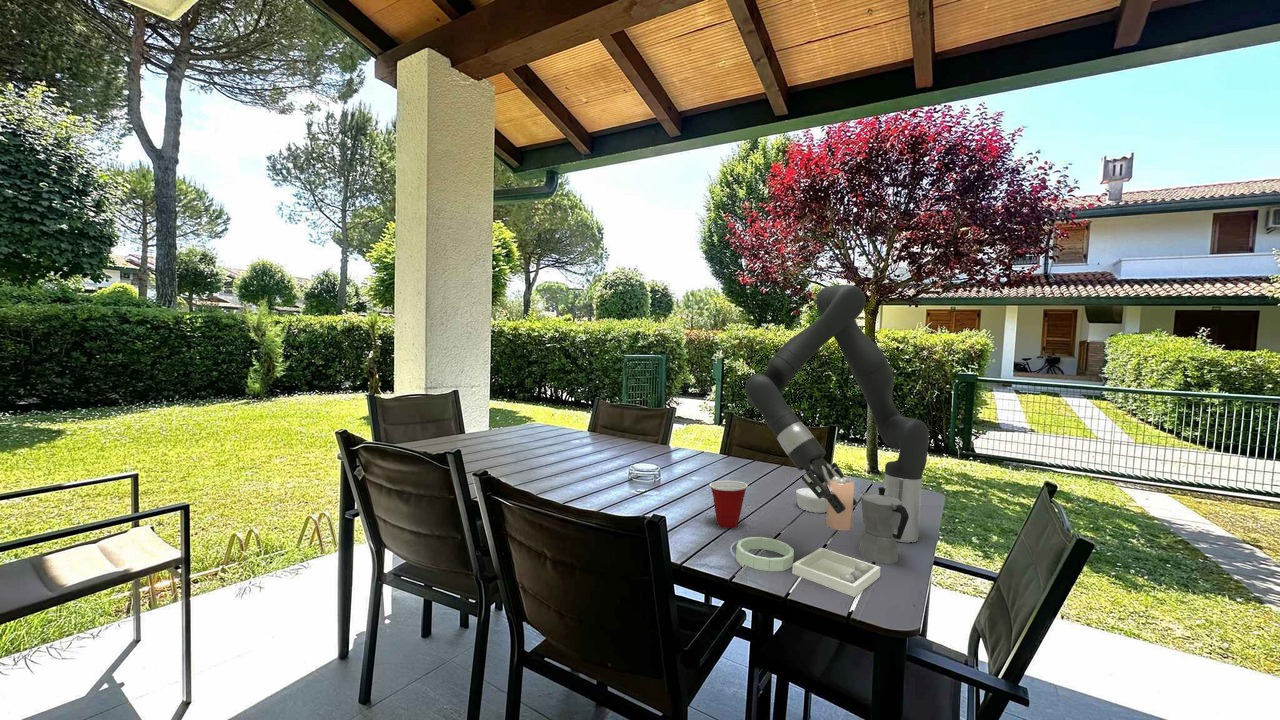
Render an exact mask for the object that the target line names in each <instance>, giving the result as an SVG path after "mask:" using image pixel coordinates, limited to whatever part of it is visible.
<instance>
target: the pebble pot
mask: <svg viewBox="0 0 1280 720" xmlns="http://www.w3.org/2000/svg"><path fill="white" fill-rule="evenodd" d="M830 481H831V487H832V489H833V491H834V494H836V495H837V497H838V498H839V499H840V501H841V502H842V503H843V505H844V506H845V508H846V509H845V510H844V511H842V512H841V513H839V514H838V513H836V511H835V510H834V509H833V507H832V506H831V505H830V503H829V502H828V501H827V512H826V515H825V517H826V521H825V525H826V526H827V527H828V528H831V529H833V530H837V531H838V530H839V531H849V530H852V529H853V513H854V512H853V511H854V510H853V509H854V506H853V497H854V491H855V482H854V481H851V480H850V479H849V478H848V477H846V476H845V477H843V478H841V479H840V478H839V477H833V478H832V479H830ZM834 494H833V495H834Z"/></svg>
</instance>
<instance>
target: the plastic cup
mask: <svg viewBox="0 0 1280 720" xmlns="http://www.w3.org/2000/svg"><path fill="white" fill-rule="evenodd" d="M709 488H710V490H711V493H712V497H713V503H714V511H715V519H716V525H717V526H718V525H719V526H718V527H720V528H724V529H736V528H737V527H738V525H739V522H740V521H739V520H740V517H741V512H742V508H743V503H744V497H745V494H746V491H747V488H748V484H747V483H746V482H743V481H739V480H716V481H712V482H710V483H709Z"/></svg>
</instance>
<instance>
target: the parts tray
mask: <svg viewBox="0 0 1280 720" xmlns="http://www.w3.org/2000/svg"><path fill="white" fill-rule="evenodd" d="M791 571H792V575H795V576H798V577H799V578H802V579H805V580H808V581H811V582H813V583H815V584H819V585H821V586H823V587H826V588H828V589H832V590H834V591H837V592H840V593H843V594H844V595H847V596H850V597H853V598H855V597H856V596H858V595H859V594H860V593H861V592H863V591H864V590H865V589H866V588H868V587H869V586H871V585H872V584H873V583H875V581H877V579H879V578H880V577H881V566H878V565H875V564H873V563H869V562H866V561H863V560H859V559H857V558H854V557H850V556H848V555H846V554H841V553H839V552H836V551H833V550H831V549H826V548H824V547H819V548H818V549H816V550H814V551H813V552H811V553H809V554H808V555H805V556H804V557H802V558H801V559H798V560H797V561H795V562H793V566H792V570H791Z"/></svg>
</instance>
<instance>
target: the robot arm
mask: <svg viewBox="0 0 1280 720" xmlns="http://www.w3.org/2000/svg"><path fill="white" fill-rule="evenodd" d="M815 306H816V310H817V312H818V315H819V317H818V318H817V319H816V320H815V321H814V322H813V323H811V324H809V326H807V327H806V328H805V329H803V330H802V331H801V332H798V333H797V334H796V335H794V336H793V337H792V338H790V339H789V340H787V342H785V343H784V344H783V345H782V346H781V348H779V350H778V351H777V352H776V353H775V354H774V355H773V356H772V358H771V359H770V360H769V362H768V364H767V367H766V370H765V371H764V372H763V373H762V374H754V375H751V376H750V377H749V378H748V379H747V380H746V382H745V385H744V392H745V396H746V399H747V401H748V403H749V404H750V406H751V407H753V408H754V409H757V410H758V411H759V413H760V414H761V415H762V416H763V418H764V422H765V423H766V425H767V427H768V429H769V430H770V431H771V433H773V434H772V435H774V436H775V438H776V440H777V441H778V443H779V444H780V447H781V448H782V449H783V451H784V452H785V454H786V455H787V456H788V458H789V459H790V460H791V461H792V463H793V464H794V465H795V467H796V468H797V470H798V471H800V472H802V471H805V473H804V474H803V475H802V476H801V480H802V481H803V482H804V484H805V485H806V486H808V487H807V488H810V489H811V490H812V491H813V492H814V494H815V495H816V496H817V497H818V498H819V499H821V498H824V499H825V500H826V499H827V501H828V502H829V503H830V505H831V506H832V507H833V509H834V510H835V511H836V513H838V514H839V513H841V512H842V511H844V510H845V509H846V508H845V506H844V505H843V503H842V502H841V501H840V499H839V498H838V497H837V495H836V494H834V491H833V489H832V487H831V481H830V479H832V478H833V477H839V478H840V479H841V478H843V477H846V476H845V475H844V474H843V471H842V470H841V468H840V466H839V465H838V464H837V463H836V462H833V463H831V464H830V463H829V462H827V461H826V460H825V459H824V457H825V456H826V453H827V452H826V450H825V448H824V447H823V446H822V445H821V444H820V442H819V441H818V440H817V438H816V437H815V436H814V435H813V433H812V432H811V431H810V430H809V428H808V427H807V426H806V425H804V423H803V422H802V421H801V420H800V418H799V417H798V416H797V415H796V413H795V412H794V411H793V409H792V408H791V407H790V406H789V405H788V404H787V402H786V400H785V398H784V396H782V394H781V393H782V392H783V391H784V389H785V388H786V386H788V385H787V384H788V383H789V382H790V380H791V379H792V378H793V377H794V376H795V375H797V374H798V372H799V371H800V370H801V369H802V368H803V366H804V365H805V364H806V363H807V362H808V361H809V360H810V359H811V358H812V357H813V356H814V355H815V354H816V353H817V352H818V351H819V350H820V349H821V348H822V347H823V346H825V344H827V343H828V342H829V341H830V340H831V339H832V338H834V339H835V341H836V343H837V344H838V345H837V346H838V347H839V349H840V352H841V353H842V355H843V357H844V359H845V361H846V362H847V365H848V367H849V369H850V371H851V373H852V375H853V377H854V380H855V382H856V383H857V385H858V387H859V388H860V390H861V393H862V394H863V397H864V399H865V401H866V403H867V406H868V407H869V409H870V411H871V414H872V416H873V420H874V422H875V425H876V428H877V431H878V433H879V436H880V437H881V439H882V442H883V443H884V444H885V445H887V446H888V447H889V448H891V449H895V450H898V451H899V454H898V458H897V459H896V460H891V461H888V462H886V463H885V464H884V465H885V466H884V480H883V481H884V482H883V488H885V489H886V490H885V493H884V495H887V496H890V497H894V498H897V499H898V500H900V501H901V502H902V503H903V504H902V506H904V507H905V508H906V510H907V513H908V515H909V519H908V522H907V524H906V527H905V529H904V532H903V535H902V537H901V539H900V540H898V539H896V542H899V543H907V544H909V543H910V542H912V543H916V541H917V542H918V540H919V535H920V519H921V517H920V516H921V502H922V483H923V473H924V470H925V468H926V466H927V461H928V451H929V442H930V433H929V432H930V431H929V428H928V426H927V424H926V423H925V422H923V421H922V420H919V419H917V418H912V417H911V418H910V417H907V416H902V414H901V413H900V412H899V411H898V409H897V406H896V405H895V402H894V401H893V391H894V383H895V378H894V377H895V376H894V373H893V370H892V368H891V366H890V363H889V362H888V359H887V357H886V356H885V354H884V352H883V351H882V350H881V349H880V348H879V347H878V345H877V344H876V343H875V342H874V341H873V340H872V339H871V338H870V337H868V336H867V334H866V333H865V332H864V331H863V330H862V329H861V328H860V327H859V325H858V323H857V322H856V319H857V318H858V317H859V316H860V315H861V314H862V312H863V311H864V308H865V306H866V296H865V293H864V292H863V290H862V289H860V287H858V286H856V285H854V284H853V285H851V284H838V285H829V286H828V285H827V286H825V287H823V288H822V289H820V290H819V292H818V293H817V295H816V299H815ZM819 491H820V492H819ZM833 494H834V495H833ZM857 504H858V502H857V500H856V499H855V498H854V496H853V507H854V506H856V505H857ZM900 519H901V514H900V516H899V521H898V525H897V528H898V526H899V524H900ZM894 534H897V529H895V530H894Z"/></svg>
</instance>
